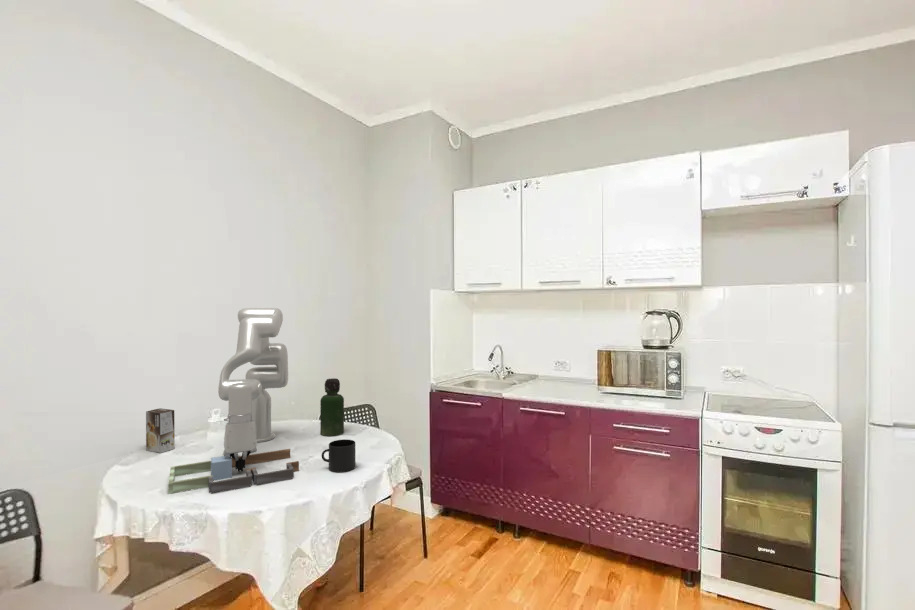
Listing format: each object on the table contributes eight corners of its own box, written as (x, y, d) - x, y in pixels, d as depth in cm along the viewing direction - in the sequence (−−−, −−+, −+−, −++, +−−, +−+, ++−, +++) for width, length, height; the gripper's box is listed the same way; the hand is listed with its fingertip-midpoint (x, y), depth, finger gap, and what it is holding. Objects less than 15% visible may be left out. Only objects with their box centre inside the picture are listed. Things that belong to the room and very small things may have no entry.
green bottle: (333, 429, 216) (333, 376, 216) (348, 432, 210) (348, 378, 210) (315, 434, 208) (315, 379, 208) (330, 438, 202) (330, 381, 202)
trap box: (170, 476, 157) (170, 466, 157) (289, 456, 176) (289, 448, 176) (167, 501, 136) (167, 491, 136) (302, 476, 156) (302, 467, 156)
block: (210, 475, 157) (210, 457, 157) (230, 471, 160) (230, 455, 160) (211, 480, 152) (211, 463, 152) (231, 477, 155) (231, 459, 155)
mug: (324, 464, 168) (324, 439, 168) (357, 463, 170) (357, 438, 170) (318, 473, 159) (318, 447, 159) (353, 472, 160) (353, 446, 160)
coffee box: (175, 448, 187) (175, 409, 187) (160, 453, 181) (160, 413, 181) (160, 446, 190) (160, 407, 190) (144, 450, 184) (145, 411, 184)
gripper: (217, 423, 153) (216, 478, 153) (264, 418, 160) (264, 469, 160) (215, 418, 159) (215, 471, 159) (261, 413, 167) (261, 463, 167)
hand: (240, 470), depth 160 cm, fingers closed
